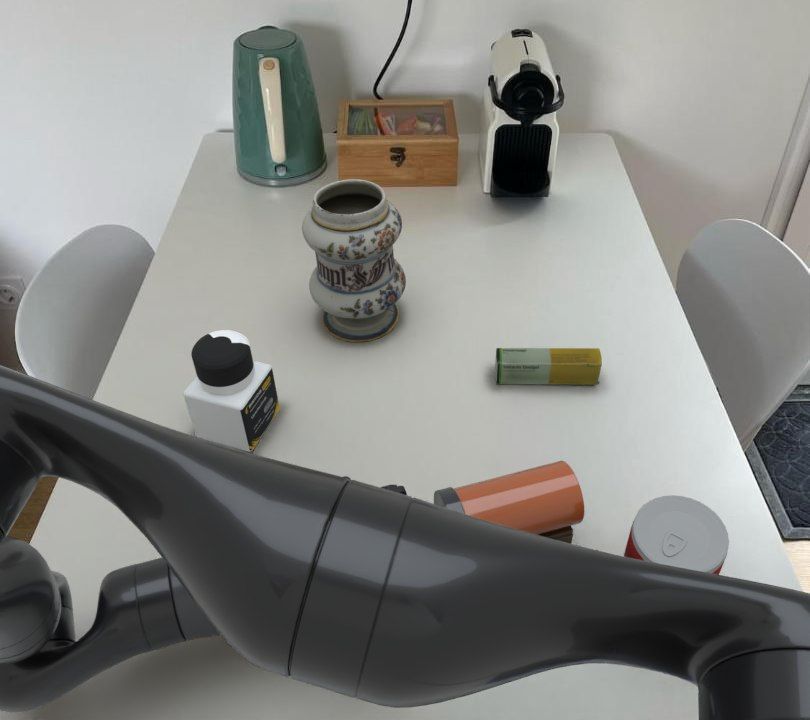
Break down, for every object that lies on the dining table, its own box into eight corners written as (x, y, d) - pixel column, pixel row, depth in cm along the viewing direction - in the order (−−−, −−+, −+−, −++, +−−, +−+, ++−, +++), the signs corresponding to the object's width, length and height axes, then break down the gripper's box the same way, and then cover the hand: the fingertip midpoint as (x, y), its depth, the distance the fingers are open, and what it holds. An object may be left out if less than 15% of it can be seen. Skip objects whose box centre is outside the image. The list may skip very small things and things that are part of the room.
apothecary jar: (365, 277, 111) (356, 159, 99) (426, 317, 104) (424, 196, 92) (295, 317, 105) (276, 196, 93) (354, 362, 99) (342, 238, 86)
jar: (552, 487, 78) (559, 444, 73) (581, 539, 73) (589, 496, 69) (433, 519, 75) (433, 476, 71) (455, 574, 71) (456, 532, 67)
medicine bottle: (251, 454, 88) (232, 374, 80) (194, 438, 90) (170, 358, 82) (281, 409, 93) (266, 330, 85) (226, 395, 95) (207, 316, 87)
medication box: (494, 386, 95) (495, 363, 92) (494, 368, 97) (495, 346, 94) (598, 386, 94) (603, 363, 91) (596, 368, 96) (600, 345, 93)
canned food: (605, 628, 72) (624, 557, 65) (622, 556, 77) (641, 483, 70) (694, 656, 70) (724, 587, 62) (705, 580, 75) (734, 508, 68)
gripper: (238, 635, 60) (446, 576, 63) (215, 489, 70) (395, 444, 73) (254, 682, 65) (446, 625, 68) (230, 540, 75) (398, 496, 78)
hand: (419, 532), depth 71 cm, fingers open, 8 cm apart
